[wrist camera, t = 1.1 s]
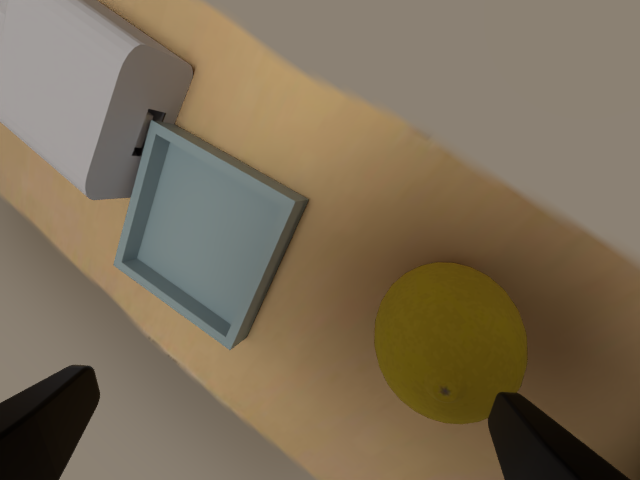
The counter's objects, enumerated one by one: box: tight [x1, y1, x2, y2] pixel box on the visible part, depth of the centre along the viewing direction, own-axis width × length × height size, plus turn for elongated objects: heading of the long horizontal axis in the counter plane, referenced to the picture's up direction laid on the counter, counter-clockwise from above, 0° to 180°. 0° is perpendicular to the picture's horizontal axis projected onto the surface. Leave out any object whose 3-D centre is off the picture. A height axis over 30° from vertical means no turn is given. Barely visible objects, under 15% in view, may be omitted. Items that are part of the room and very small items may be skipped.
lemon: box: [374, 262, 528, 424], centre depth 13 cm, size 6×6×8 cm
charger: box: [0, 0, 193, 200], centre depth 21 cm, size 5×9×15 cm
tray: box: [114, 120, 309, 350], centre depth 21 cm, size 10×10×2 cm
